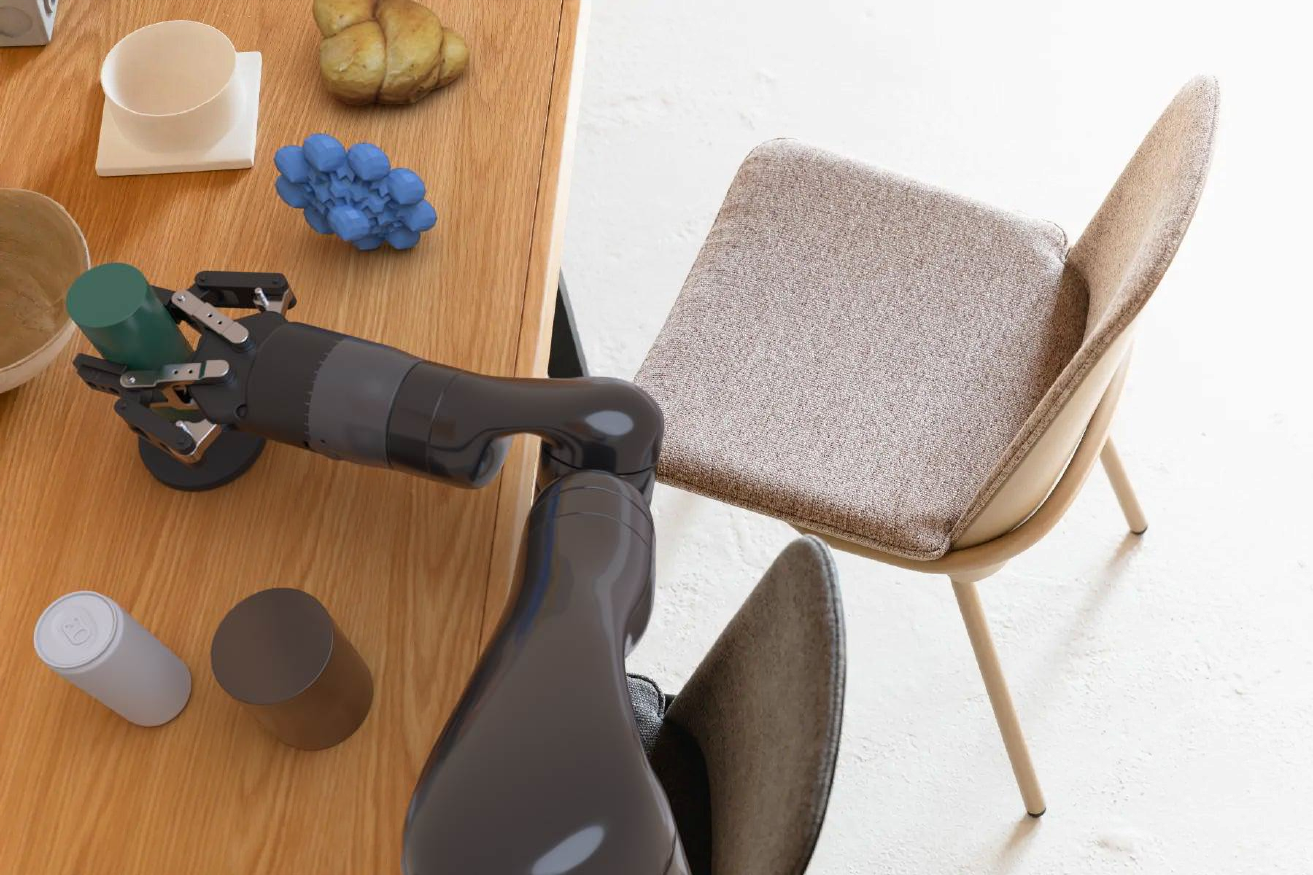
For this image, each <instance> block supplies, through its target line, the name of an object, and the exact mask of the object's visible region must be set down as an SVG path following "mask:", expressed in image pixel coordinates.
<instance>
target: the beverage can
mask: <svg viewBox="0 0 1313 875" xmlns="http://www.w3.org/2000/svg"><path fill="white" fill-rule="evenodd" d="M32 640H33V645H34V650H35V652H36V653H37V655H38V657H39V658H40V659H41V662H42V663H43V664H44V665H45V666H47V668H49V669H50V670H51V671H52V672H54V673H55V674H57V675H58V676H60V677H61V678H63V679H64V680H66V681H67V682H68V683H70V684H72V685H74V686H75V687H76V688H78V689H80V690H81V691H82V692H84V693H85V694H88V695H89V696H91V697H92V698H94V699H95V700H97V701H98V702H100V703H101V704H103V705H104V706H105V707H107V708H109V709H110V710H111V711H113V712H115V713H116V714H117V715H119V716H120V717H122V718H124V719H125V720H126V721H128V722H130V723H132V724H135V725H136V726H141V727H158V726H160V725H163V724H167V723H168V722H170V721H171V720H173V719H174V718H176V717H177V716H178V715H179V713H180V712H182V711H183V709H184V708H185V706H186V704H187V703H188V701H189V698H190V695H191V692H192V677H191V671H190V669H189V668H188V666H187V664H186V663H185V662H184V661H183V660H182V659H181V658H180V657H179V656H178V655H177V654H176V653H174V652H173V651H172V650H171V649H170V648H169V647H167V645H165V644H164V643H163V642H162V641H161V640H159V639H158V638H157V637H156V636H155V635H153V634H152V633H151V631H149V630H148V629H147V628H146V627H145V626H143V625H142V624H141V623H140V622H139V621H138V620H137V619H135V618H134V617H133V616H132V615H131V614H129V612H127V610H125V609H124V608H123V607H121V606H120V605H119V604H118V603H117V602H116V601H115V600H114V599H113V598H111V597H109V596H105V594H101V593H99V592H96V591H93V590H80V591H73V592H70V593H67V594H64V595H62V596H60V597H58V598H57V599H56V600H54V601H52V602H51V604H50V605H48V606H47V607H46V608H45V609H44V611H43V612H42V614H40V616H39V618H38V620H37V622H36V624H35V627H34V632H33V638H32Z"/></svg>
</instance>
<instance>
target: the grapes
mask: <svg viewBox="0 0 1313 875" xmlns="http://www.w3.org/2000/svg"><path fill="white" fill-rule="evenodd" d="M273 162H274V166H275V168H276V170H277V171H278V173H280V175H279V176H277V177H276V180H275V183H274V187H275V190H276V193H277V195H278V196H279V198H280V199H281V200H282V201H283V202H284V203H285V204H287V206H289V207H290V208H293V209H297V210H298V209H300V210H303V211H302V214H303V217H304V221H305V222H306V224H308V226H309V227H310V229H312V230H314V231H315V232H316V233H317V234H320V235H326V236H327V235H328V236H329V235H334V234H335V236H337V237H338V238H339V239H341V241H344V242H350V243H351V245H353V246H354V247H355V248H357V249H358V250H361V251H371V250H376V249H378V248H379V247H381V246H382V245H383V244H384V242H386V243H387V244H388V245H390V246H391V247H392V248H394V249H396V250H408V249H412V248H414V247H415V246H416V245H419V242H420V239H421V237H422V235H421V233H424V232H428V231H430V230H432V229H433V228H434V227H435V226H436V224H437V220H438V216H437V212H436V209H435V208H434V207H433V205H432V204H431V202H429V201H428V200H426V199H425V196H426V194H427V189H426V184H425V182H424V181H423V179H421V177H420V175H418V174H417V173H416V172H414V171H413V170H411V169H409V168H406V167H395V168H392V165H391V163H390V162H391V161H390V159H389V157H388V155H387V154H386V153H385V151H383V149H382V148H380V147H378V146H377V145H376V144H374V143H370V142H364V141H363V142H358V143H354V144H352V145H351V146H350V147H349V148H348V149H347V150H346V148H345V147H344V145H343V144H342V143H341V142H340V141H339V140H338V139H337V138H335V137H334V136H332V135H331V134H327V133H323V132H318V133H313V134H310V135H309V136H308V137H307V136H306V138H305V139H303V143H302V146H300V145H295V144H290V145H284V146H281V147H280V148H279V149H277V150H276V151H275V154H274V157H273Z"/></svg>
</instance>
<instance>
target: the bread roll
mask: <svg viewBox="0 0 1313 875" xmlns="http://www.w3.org/2000/svg"><path fill="white" fill-rule="evenodd" d="M311 12H312V16H313V19H314V22H315V24H316V27H317V28H318V30H319V31H320V34H321V36H322V37H324V38H323V39H322V40H321V41H320V44H319V49H318V50H319V63H320V64H319V65H320V71H321V77H322V80H323V85H324V86H325V89H326V90H327V92H328V93H329V95H331V96H332V97H333V98H335V99H337V100H340V101H342V102H343V103H345V104H348V105H355V106H361V105H367V104H371V103H372V102H375V103H379V104H384V105H407V104H409V105H410V104H415V103H416V102H417V101H419V100H421V99H423V98H424V97H425V96H426V95H428V94H429V93H430V92H431V90H436V89H439V88H443V87H446V86H448V84H450V83H452V82H453V81H454V80H456V79H457V78H458V77H460V75H462V73H464V71H465V70H466V68H467V67H468V64H469V62H470V49H469V46H468V44H467V43H466V41H465V39H464V37H463V36H462V35H461V34H460V33H459V32H457V31H456V30H454V29H453V28H452V27H448V26H443V25H442V23H441V19H440V17H439V16H438V15H437V13H436V12H435V11H433V10H432V9H430V8H429V7H428V6H426V5H424V4H422V3H419V2H417V1H414V0H313V2H312V7H311Z"/></svg>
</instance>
